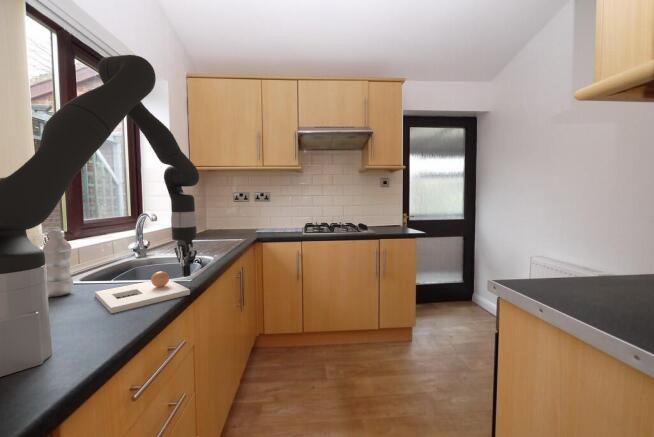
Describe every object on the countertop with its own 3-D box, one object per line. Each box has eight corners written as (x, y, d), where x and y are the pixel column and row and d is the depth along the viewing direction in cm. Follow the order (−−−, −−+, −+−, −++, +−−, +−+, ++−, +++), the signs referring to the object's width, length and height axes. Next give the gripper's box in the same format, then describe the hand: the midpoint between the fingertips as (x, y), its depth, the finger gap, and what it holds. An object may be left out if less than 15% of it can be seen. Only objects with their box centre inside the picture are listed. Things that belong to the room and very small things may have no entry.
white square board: (190, 294, 90) (189, 289, 90) (111, 313, 76) (111, 307, 75) (166, 282, 104) (165, 278, 104) (95, 296, 89) (95, 291, 89)
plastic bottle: (41, 297, 89) (36, 231, 88) (68, 290, 95) (64, 229, 94) (50, 300, 86) (45, 232, 85) (78, 293, 92) (74, 230, 91)
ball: (171, 286, 93) (171, 271, 93) (154, 290, 90) (153, 274, 89) (166, 283, 97) (165, 268, 96) (149, 287, 93) (148, 271, 93)
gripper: (204, 225, 96) (206, 277, 98) (187, 223, 105) (189, 270, 106) (180, 227, 91) (183, 282, 92) (164, 225, 100) (167, 275, 101)
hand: (186, 276), depth 99 cm, fingers closed
